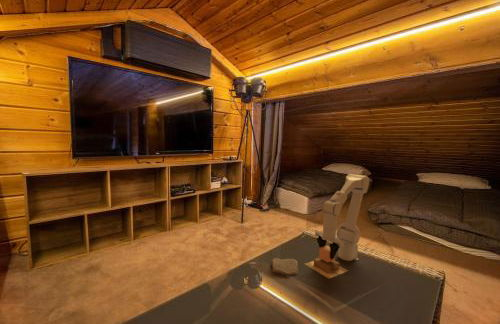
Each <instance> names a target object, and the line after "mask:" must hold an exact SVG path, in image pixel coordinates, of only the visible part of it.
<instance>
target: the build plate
mask: <svg viewBox="0 0 500 324" xmlns="http://www.w3.org/2000/svg"><path fill="white" fill-rule="evenodd" d="M304 265H305V266H307V267H308V268H311V269H312V270H313V271H316V273H318V274H319V275H322V276H324V278H327V279H329V280H330V279H332V278H334V277H337V276H339V275H342V274H344V273H346V272H347V273H348V272H349V269H346V268H344V267H343V266H341V265H339V269H338V270H336V271H333V272H330V273H328V274H327V273H326V272H324V271H322V270H321V269H319V268H317V267H316V266H314V260H313V261H309V262H305V263H304Z"/></svg>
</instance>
